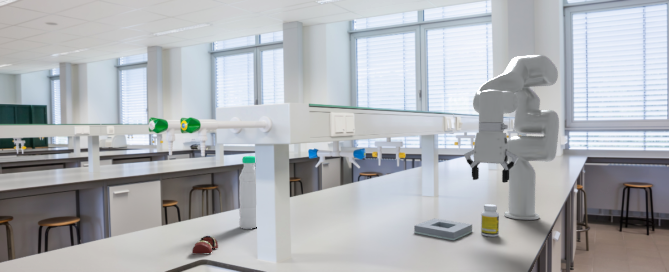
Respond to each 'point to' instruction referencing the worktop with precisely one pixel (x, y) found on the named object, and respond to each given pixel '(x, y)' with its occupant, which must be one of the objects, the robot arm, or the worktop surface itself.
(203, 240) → the dental model
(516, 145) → the robot arm
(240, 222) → the water bottle
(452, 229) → the holder block
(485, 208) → the supplement bottle
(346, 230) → the worktop surface
